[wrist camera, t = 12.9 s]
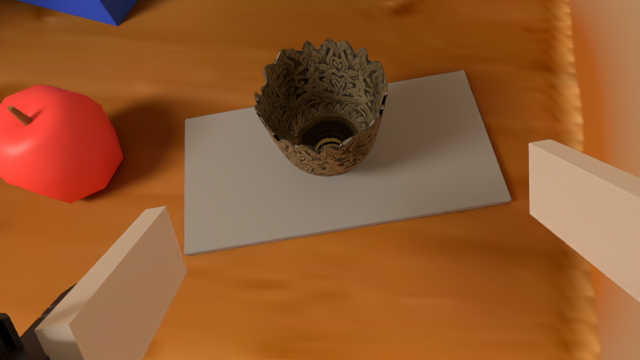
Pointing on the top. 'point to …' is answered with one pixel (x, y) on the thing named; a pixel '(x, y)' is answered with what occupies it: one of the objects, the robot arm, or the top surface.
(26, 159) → the apple
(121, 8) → the bracket
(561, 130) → the top surface
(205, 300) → the top surface
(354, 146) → the cup
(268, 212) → the rubber mat
